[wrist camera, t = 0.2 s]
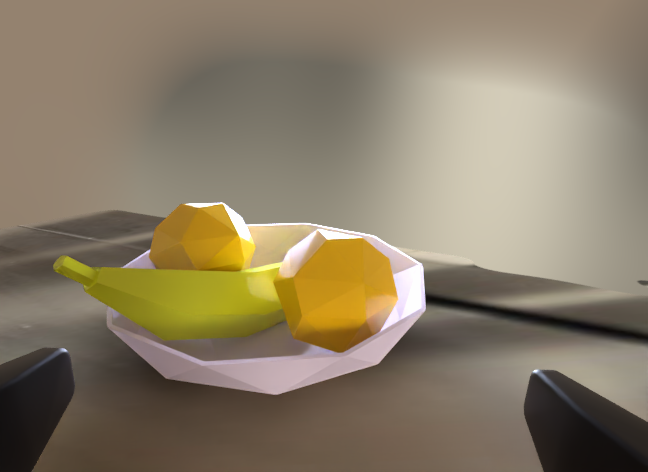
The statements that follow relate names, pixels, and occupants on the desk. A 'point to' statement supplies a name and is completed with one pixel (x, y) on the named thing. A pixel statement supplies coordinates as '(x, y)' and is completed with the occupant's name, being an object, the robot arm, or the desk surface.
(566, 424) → the robot arm
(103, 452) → the desk surface
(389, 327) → the fruit bowl
